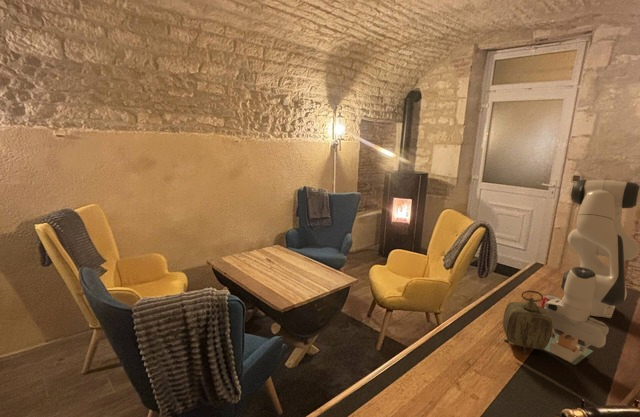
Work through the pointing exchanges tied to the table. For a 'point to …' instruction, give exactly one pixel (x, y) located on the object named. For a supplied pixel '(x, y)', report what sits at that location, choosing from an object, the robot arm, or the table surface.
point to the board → (577, 345)
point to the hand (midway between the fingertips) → (567, 344)
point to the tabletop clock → (527, 324)
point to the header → (564, 352)
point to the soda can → (548, 299)
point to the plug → (568, 341)
